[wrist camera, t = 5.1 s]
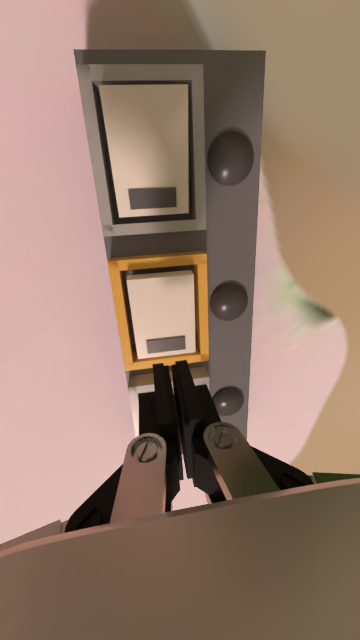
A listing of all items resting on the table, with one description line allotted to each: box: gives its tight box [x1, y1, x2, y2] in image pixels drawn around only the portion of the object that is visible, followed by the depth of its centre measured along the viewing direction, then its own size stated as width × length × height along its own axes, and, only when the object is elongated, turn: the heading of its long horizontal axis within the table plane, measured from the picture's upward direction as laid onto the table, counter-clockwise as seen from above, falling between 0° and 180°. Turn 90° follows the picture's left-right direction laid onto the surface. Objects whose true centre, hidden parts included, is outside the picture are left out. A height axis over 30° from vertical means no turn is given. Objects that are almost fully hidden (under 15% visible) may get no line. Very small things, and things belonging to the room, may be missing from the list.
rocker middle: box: [126, 270, 196, 359], centre depth 17 cm, size 6×4×1 cm
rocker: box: [99, 84, 189, 218], centre depth 14 cm, size 6×4×1 cm
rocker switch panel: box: [74, 50, 266, 439], centre depth 19 cm, size 28×10×4 cm, turn 3°
